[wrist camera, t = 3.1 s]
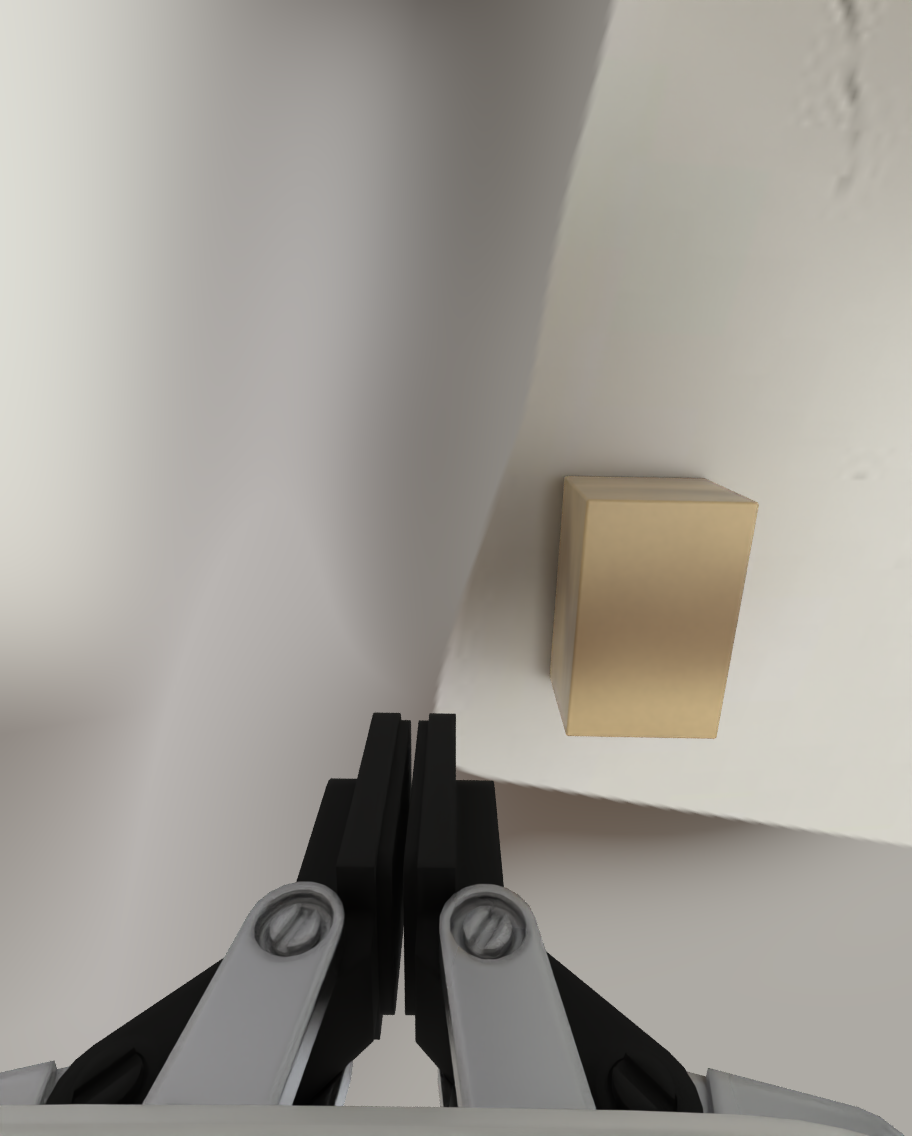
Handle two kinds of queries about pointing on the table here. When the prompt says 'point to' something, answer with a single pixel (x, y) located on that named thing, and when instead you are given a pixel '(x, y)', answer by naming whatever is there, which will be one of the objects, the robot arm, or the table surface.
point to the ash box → (647, 604)
